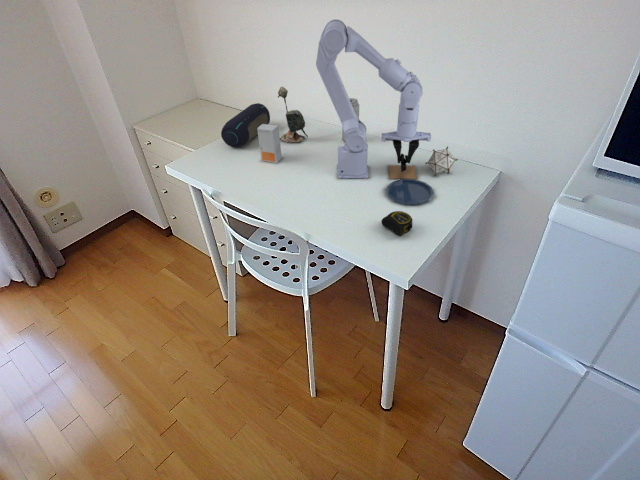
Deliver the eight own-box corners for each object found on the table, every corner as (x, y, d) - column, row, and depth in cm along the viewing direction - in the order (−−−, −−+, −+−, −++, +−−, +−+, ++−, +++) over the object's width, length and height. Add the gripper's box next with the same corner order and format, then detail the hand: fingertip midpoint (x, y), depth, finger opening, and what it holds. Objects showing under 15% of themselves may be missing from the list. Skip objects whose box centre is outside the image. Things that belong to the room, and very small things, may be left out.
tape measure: (379, 227, 106) (380, 216, 103) (398, 218, 109) (400, 207, 106) (397, 240, 101) (398, 228, 99) (417, 230, 104) (418, 218, 102)
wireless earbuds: (400, 162, 129) (399, 149, 125) (408, 160, 128) (407, 148, 124) (401, 176, 124) (400, 163, 120) (410, 174, 124) (408, 162, 120)
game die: (443, 185, 128) (458, 171, 119) (418, 175, 128) (432, 160, 118) (449, 162, 131) (465, 147, 122) (425, 152, 131) (439, 136, 121)
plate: (388, 205, 114) (388, 202, 113) (385, 181, 124) (386, 178, 123) (435, 205, 113) (436, 202, 112) (429, 182, 123) (429, 179, 122)
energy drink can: (361, 140, 149) (362, 99, 139) (352, 145, 145) (352, 104, 136) (348, 136, 152) (349, 96, 142) (339, 141, 148) (338, 101, 139)
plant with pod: (298, 147, 146) (294, 92, 133) (276, 140, 152) (270, 86, 139) (313, 140, 150) (310, 85, 138) (291, 132, 156) (286, 80, 144)
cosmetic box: (261, 161, 138) (256, 128, 131) (267, 155, 141) (262, 123, 134) (276, 163, 136) (272, 130, 129) (282, 158, 140) (278, 125, 132)
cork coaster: (390, 179, 125) (390, 178, 125) (388, 166, 132) (388, 165, 132) (417, 179, 125) (417, 178, 124) (414, 166, 131) (414, 165, 131)
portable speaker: (244, 152, 144) (240, 126, 138) (220, 149, 147) (215, 123, 141) (275, 125, 162) (272, 101, 156) (253, 123, 165) (249, 99, 159)
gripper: (383, 125, 115) (380, 168, 123) (434, 125, 114) (428, 168, 122) (382, 116, 120) (379, 157, 129) (431, 115, 119) (425, 157, 128)
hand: (403, 161), depth 126 cm, fingers closed on wireless earbuds, 2 cm apart
